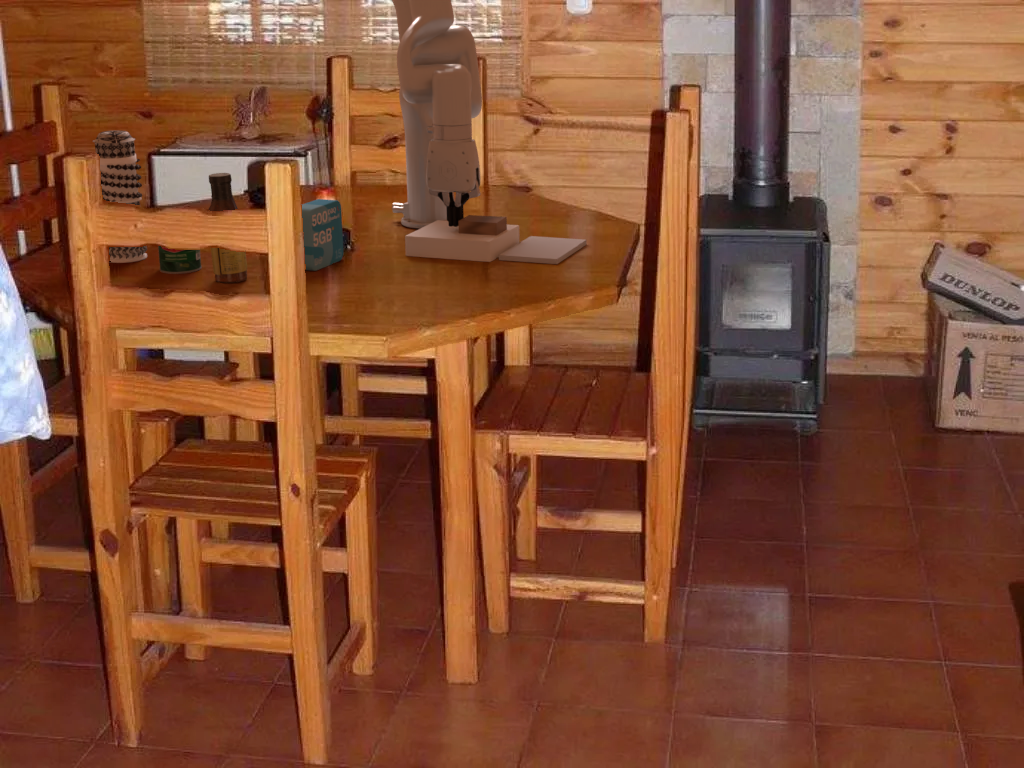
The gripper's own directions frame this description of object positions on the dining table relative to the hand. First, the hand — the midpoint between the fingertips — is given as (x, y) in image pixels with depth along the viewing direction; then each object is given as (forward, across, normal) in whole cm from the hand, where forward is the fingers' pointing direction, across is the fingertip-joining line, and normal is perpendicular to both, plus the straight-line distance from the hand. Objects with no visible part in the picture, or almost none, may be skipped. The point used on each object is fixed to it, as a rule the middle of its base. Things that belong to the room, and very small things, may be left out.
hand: (455, 225), depth 296 cm
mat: (+5, +17, +3) cm, 18 cm away
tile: (+1, +6, +1) cm, 6 cm away
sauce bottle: (+5, -30, -36) cm, 47 cm away
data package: (+5, -20, -20) cm, 29 cm away
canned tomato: (+5, -44, -31) cm, 54 cm away
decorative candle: (+5, -60, -26) cm, 66 cm away
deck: (+5, +2, 0) cm, 5 cm away
